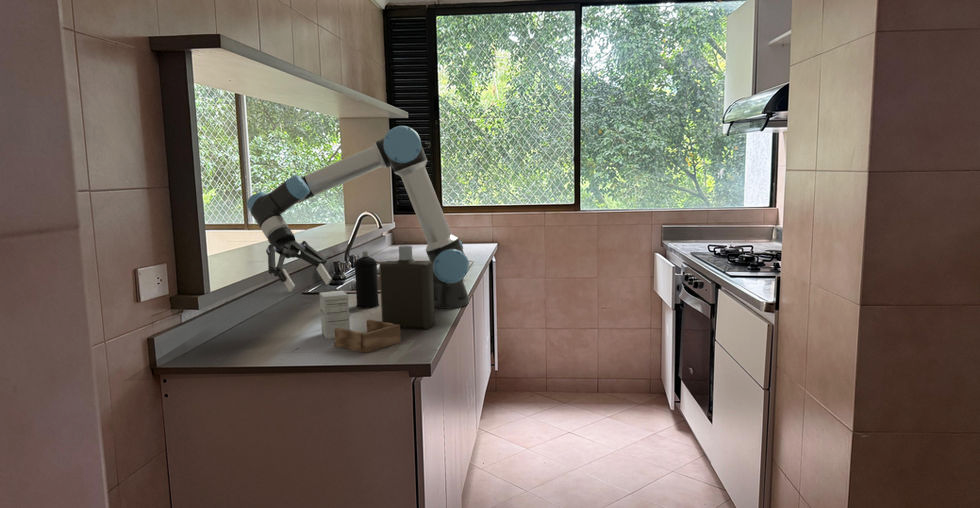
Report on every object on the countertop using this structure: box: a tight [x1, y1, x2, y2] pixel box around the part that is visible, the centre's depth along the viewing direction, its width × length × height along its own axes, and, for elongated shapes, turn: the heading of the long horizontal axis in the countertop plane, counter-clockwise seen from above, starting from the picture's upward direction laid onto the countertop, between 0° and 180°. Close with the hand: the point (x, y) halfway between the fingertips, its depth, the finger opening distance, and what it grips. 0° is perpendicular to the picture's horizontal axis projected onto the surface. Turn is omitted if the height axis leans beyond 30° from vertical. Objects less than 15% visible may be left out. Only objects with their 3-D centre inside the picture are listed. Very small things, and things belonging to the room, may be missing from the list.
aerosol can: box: [353, 250, 380, 309], centre depth 233 cm, size 8×8×20 cm
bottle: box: [379, 245, 436, 330], centre depth 201 cm, size 8×16×25 cm, turn 74°
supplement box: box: [319, 290, 351, 340], centre depth 193 cm, size 7×7×13 cm
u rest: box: [333, 319, 402, 354], centre depth 182 cm, size 13×13×5 cm
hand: (311, 285), depth 197 cm, fingers open, 13 cm apart
